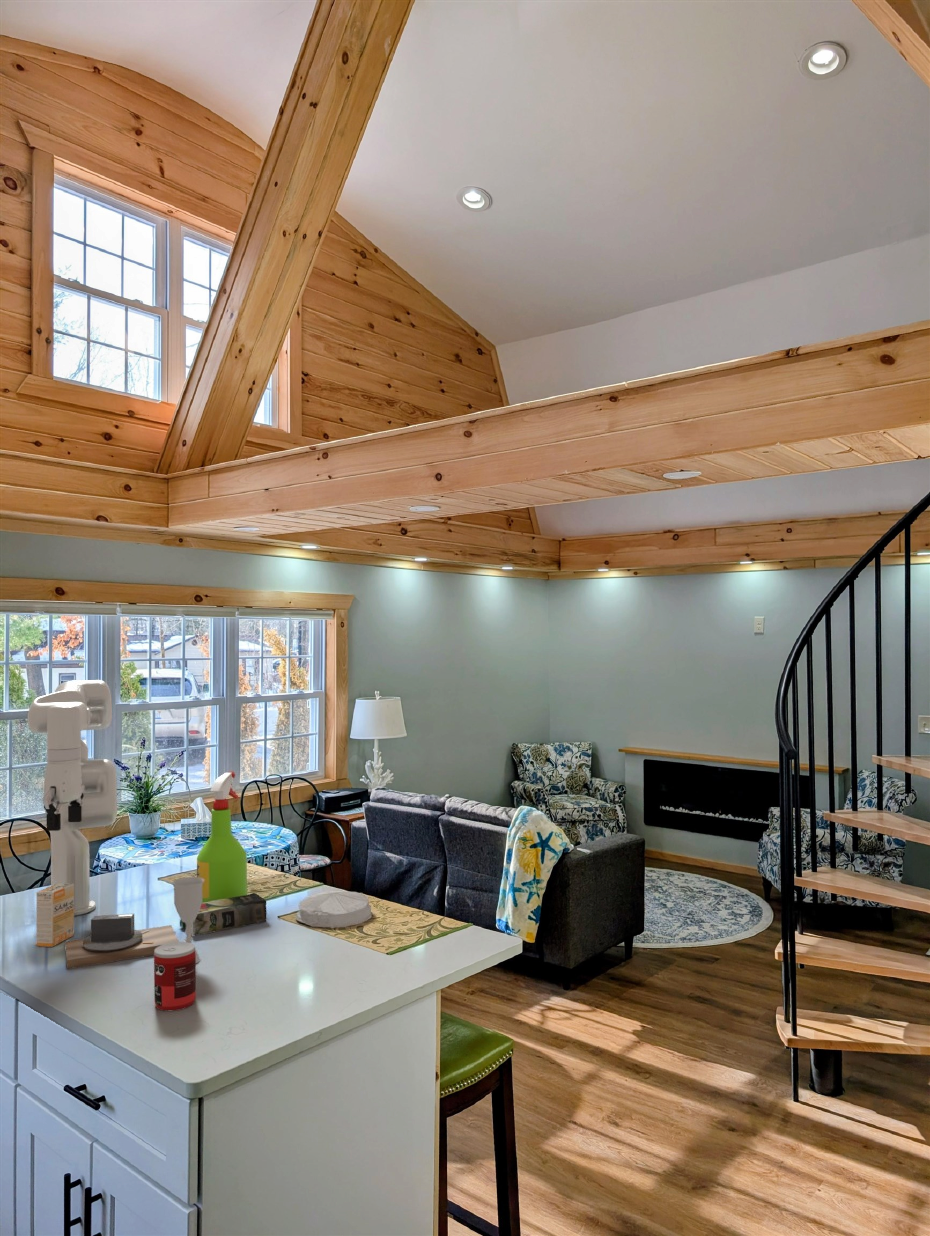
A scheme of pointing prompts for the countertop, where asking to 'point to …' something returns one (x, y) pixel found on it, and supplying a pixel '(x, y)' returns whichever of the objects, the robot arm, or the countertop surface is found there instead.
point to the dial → (112, 933)
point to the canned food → (174, 975)
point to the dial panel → (146, 947)
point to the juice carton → (228, 914)
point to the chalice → (188, 902)
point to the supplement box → (55, 914)
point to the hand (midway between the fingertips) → (64, 826)
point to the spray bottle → (222, 849)
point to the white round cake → (334, 909)
